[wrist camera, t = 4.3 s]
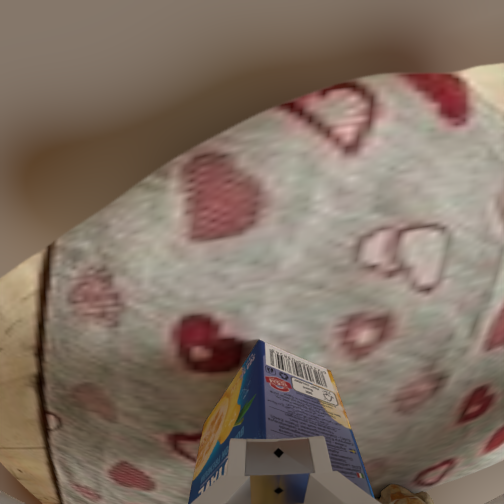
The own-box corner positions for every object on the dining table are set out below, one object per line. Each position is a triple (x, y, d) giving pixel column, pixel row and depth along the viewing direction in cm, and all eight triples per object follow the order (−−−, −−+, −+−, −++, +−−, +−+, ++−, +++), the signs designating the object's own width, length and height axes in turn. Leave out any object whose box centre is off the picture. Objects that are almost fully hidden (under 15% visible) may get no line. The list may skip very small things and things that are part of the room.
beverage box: (203, 424, 27) (163, 641, 5) (259, 338, 24) (264, 647, 3) (266, 447, 27) (272, 650, 6) (330, 369, 25) (412, 621, 4)
